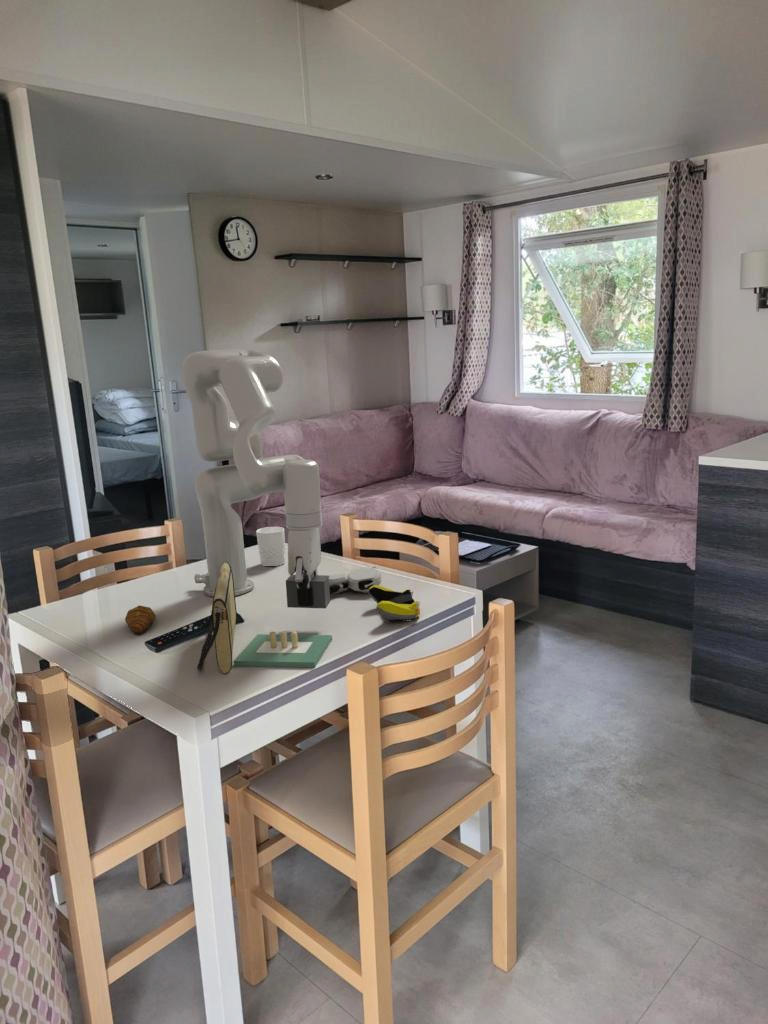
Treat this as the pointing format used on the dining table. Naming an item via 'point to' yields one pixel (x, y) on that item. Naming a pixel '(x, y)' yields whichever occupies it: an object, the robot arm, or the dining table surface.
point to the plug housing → (319, 591)
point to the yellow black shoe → (395, 603)
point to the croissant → (140, 619)
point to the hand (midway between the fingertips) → (308, 600)
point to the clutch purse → (222, 621)
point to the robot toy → (355, 580)
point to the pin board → (284, 650)
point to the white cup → (271, 545)
